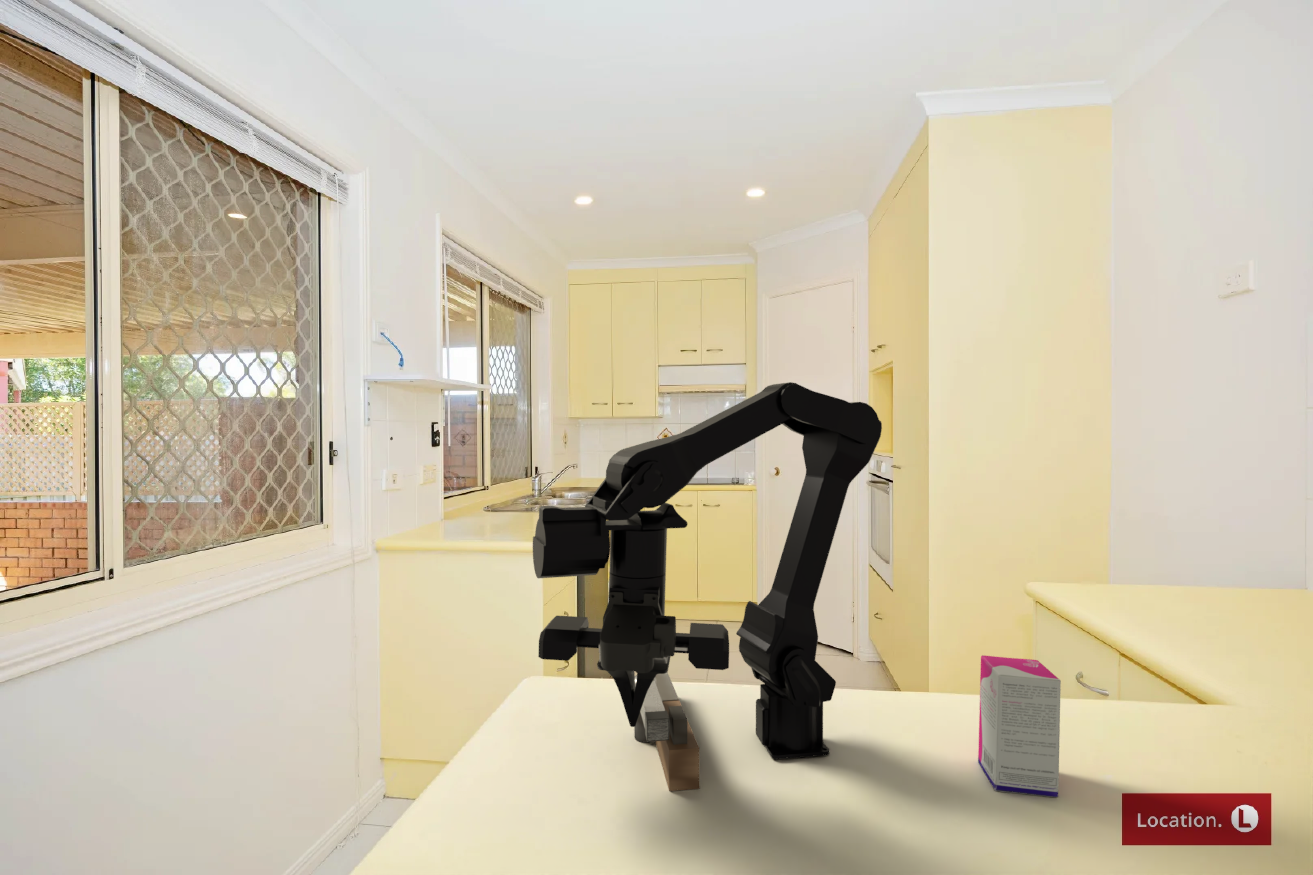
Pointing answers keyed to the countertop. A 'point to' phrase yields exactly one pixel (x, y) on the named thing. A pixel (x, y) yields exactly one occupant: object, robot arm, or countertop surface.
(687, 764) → the wooden block clamp
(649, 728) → the bar
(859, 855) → the countertop surface
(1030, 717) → the supplement box
